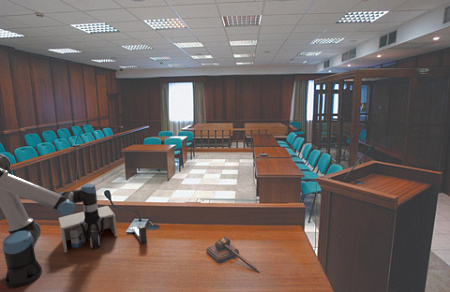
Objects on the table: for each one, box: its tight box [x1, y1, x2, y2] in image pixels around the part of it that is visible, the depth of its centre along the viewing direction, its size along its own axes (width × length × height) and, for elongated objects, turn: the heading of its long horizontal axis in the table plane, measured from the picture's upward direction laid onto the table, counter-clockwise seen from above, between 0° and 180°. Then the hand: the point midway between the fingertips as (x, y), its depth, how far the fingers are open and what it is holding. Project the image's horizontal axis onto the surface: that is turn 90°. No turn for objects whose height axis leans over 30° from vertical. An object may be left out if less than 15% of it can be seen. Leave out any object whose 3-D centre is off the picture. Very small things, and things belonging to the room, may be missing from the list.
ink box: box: [70, 225, 87, 248], centre depth 163 cm, size 8×5×12 cm, turn 179°
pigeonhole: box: [58, 205, 118, 253], centre depth 168 cm, size 17×30×16 cm, turn 127°
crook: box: [85, 229, 100, 250], centre depth 163 cm, size 22×12×11 cm, turn 37°
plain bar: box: [131, 224, 148, 245], centre depth 170 cm, size 20×4×11 cm, turn 37°
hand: (95, 245), depth 159 cm, fingers closed on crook, 3 cm apart
